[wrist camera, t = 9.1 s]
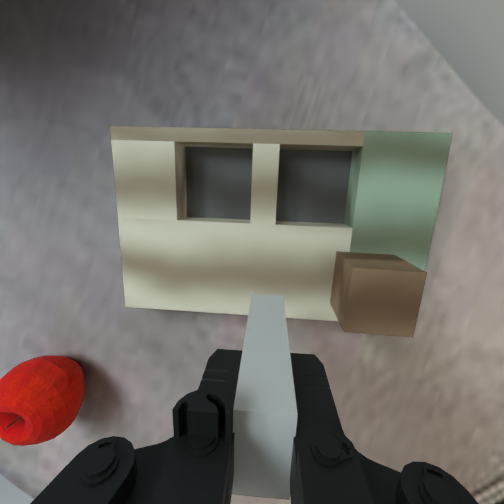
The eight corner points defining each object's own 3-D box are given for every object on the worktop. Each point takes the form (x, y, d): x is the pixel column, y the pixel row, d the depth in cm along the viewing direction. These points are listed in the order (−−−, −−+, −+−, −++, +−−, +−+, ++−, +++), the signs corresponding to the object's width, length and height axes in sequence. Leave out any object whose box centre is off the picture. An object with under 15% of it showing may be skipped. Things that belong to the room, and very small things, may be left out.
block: (336, 251, 21) (353, 267, 17) (394, 254, 21) (426, 272, 16) (329, 303, 22) (343, 331, 18) (385, 307, 22) (413, 337, 17)
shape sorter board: (130, 133, 23) (110, 125, 20) (428, 140, 21) (452, 132, 18) (141, 293, 27) (125, 306, 24) (397, 310, 25) (414, 326, 22)
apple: (105, 405, 30) (53, 473, 23) (40, 396, 31) (-31, 459, 24) (102, 344, 28) (44, 397, 21) (32, 335, 29) (-48, 384, 22)
